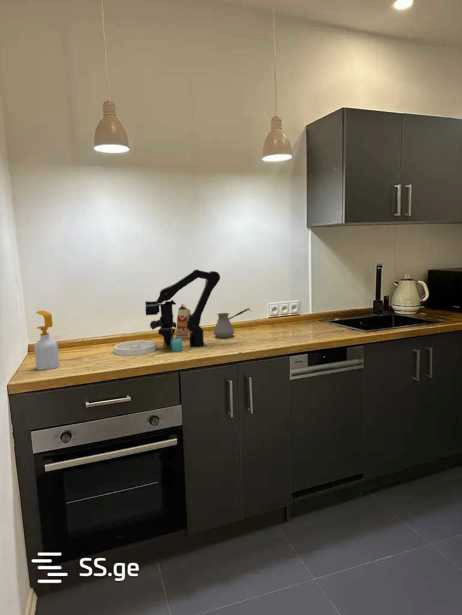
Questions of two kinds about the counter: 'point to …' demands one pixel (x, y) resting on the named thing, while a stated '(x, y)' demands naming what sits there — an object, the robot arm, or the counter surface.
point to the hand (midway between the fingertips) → (168, 344)
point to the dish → (135, 348)
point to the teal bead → (176, 344)
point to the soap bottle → (46, 346)
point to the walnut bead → (166, 345)
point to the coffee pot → (225, 325)
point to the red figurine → (183, 323)
